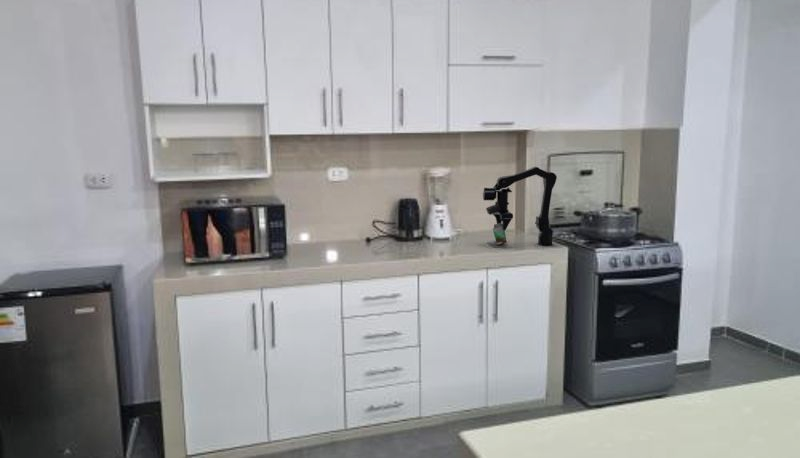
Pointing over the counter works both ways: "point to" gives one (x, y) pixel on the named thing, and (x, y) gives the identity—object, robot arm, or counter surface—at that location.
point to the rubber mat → (495, 244)
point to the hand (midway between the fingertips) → (501, 228)
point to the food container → (499, 234)
